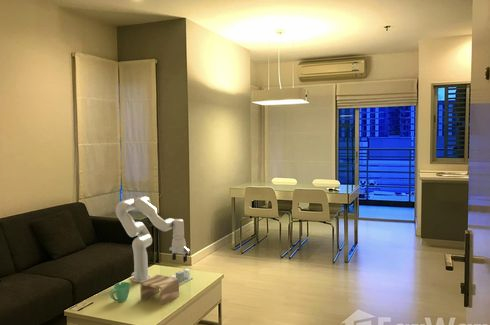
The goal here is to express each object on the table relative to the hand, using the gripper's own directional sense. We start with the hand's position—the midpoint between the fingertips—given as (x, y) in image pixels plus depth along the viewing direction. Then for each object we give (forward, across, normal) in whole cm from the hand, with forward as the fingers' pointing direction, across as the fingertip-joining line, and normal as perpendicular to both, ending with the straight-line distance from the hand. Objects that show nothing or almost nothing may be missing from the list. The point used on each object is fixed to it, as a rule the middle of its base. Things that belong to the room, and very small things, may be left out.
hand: (179, 260), depth 286 cm
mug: (+16, -13, -44) cm, 49 cm away
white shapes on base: (+16, 0, 0) cm, 16 cm away
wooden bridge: (+16, +6, -28) cm, 33 cm away
